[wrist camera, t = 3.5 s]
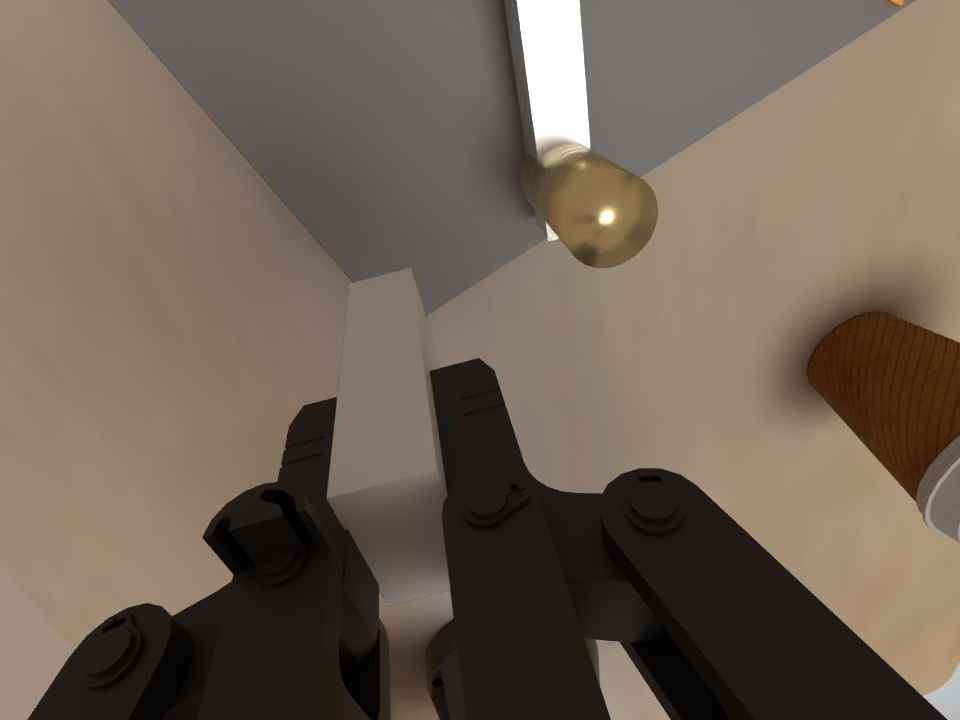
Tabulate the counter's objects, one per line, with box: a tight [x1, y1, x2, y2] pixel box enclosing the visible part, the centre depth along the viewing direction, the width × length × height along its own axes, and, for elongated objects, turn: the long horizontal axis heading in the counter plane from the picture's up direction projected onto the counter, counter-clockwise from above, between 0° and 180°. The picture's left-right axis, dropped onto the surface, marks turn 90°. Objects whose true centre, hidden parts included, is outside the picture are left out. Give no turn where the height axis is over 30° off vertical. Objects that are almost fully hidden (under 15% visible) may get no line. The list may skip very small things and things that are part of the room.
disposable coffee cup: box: [808, 312, 960, 543], centre depth 29 cm, size 10×10×12 cm
